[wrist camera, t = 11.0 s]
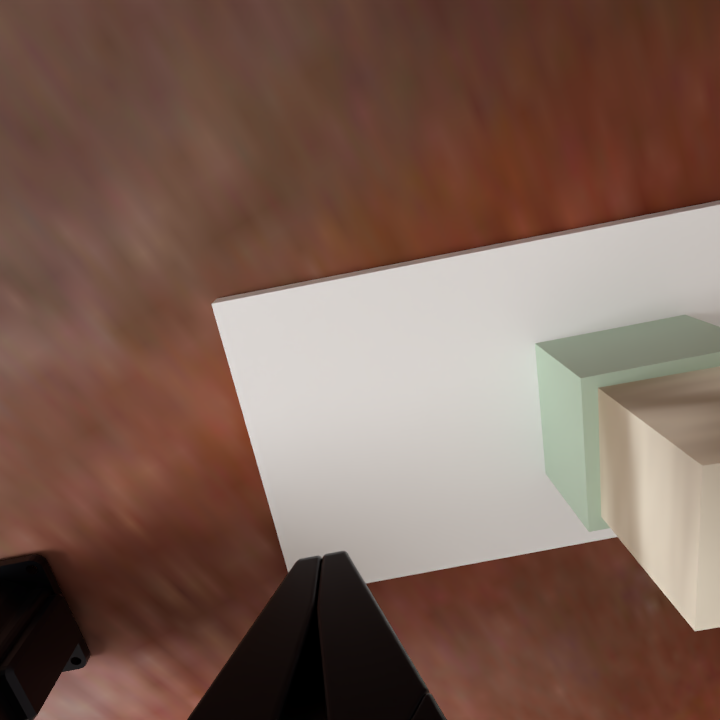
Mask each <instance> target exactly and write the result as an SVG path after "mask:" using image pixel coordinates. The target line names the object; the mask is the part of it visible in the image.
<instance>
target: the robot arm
mask: <svg viewBox="0 0 720 720" xmlns="http://www.w3.org/2000/svg"><path fill="white" fill-rule="evenodd" d="M32 565H33V566H36V567H37V568H35V567H33V566H32ZM89 658H90V652H89V649H88V647H87V645H86V643H85V641H84V639H83V637H82V634H81V632H80V630H79V628H78V626H77V624H76V622H75V619H74V617H73V615H72V613H71V611H70V609H69V607H68V604H67V602H66V600H65V598H64V596H63V594H62V592H61V589H60V587H59V585H58V583H57V581H56V579H55V577H54V574H53V572H52V570H51V568H50V566H49V564H48V562H47V560H46V559H45V558H44V557H42V556H40V555H29V556H24V557H18V558H13V559H8V560H3V561H0V720H34V718H35V717H36V716H37V714H38V713H39V711H40V709H41V707H42V706H43V704H44V702H45V700H46V699H47V697H48V695H49V694H50V692H51V690H52V688H53V687H54V685H55V683H56V681H57V680H58V678H59V676H60V674H61V673H62V672H65V671H70V670H75V669H80V668H83V667H84V666H85V665H86V664H87V662H88V660H89ZM187 720H447V719H446V718H445V716H444V714H443V713H442V711H441V709H440V708H439V706H438V704H437V703H436V701H435V699H434V698H433V696H432V694H430V693H429V690H428V688H427V686H426V685H425V683H424V681H423V680H422V678H421V676H420V675H419V673H418V671H417V669H416V668H415V666H414V664H413V663H412V661H411V659H410V658H409V656H408V654H407V653H406V651H405V649H404V647H403V646H402V644H401V642H400V641H399V639H398V637H397V636H396V634H395V632H394V631H393V629H392V627H391V625H390V624H389V622H388V620H387V619H386V617H385V615H384V614H383V612H382V610H381V609H380V607H379V605H378V604H377V602H376V600H375V598H374V597H373V595H372V593H371V592H370V590H369V588H368V587H367V585H366V583H365V582H364V580H363V578H362V576H361V575H360V573H359V571H358V570H357V568H356V566H355V565H354V563H353V561H352V560H351V558H350V556H349V554H348V553H347V552H346V551H338V552H333V553H327V554H325V555H324V556H323V557H321V556H319V555H317V556H311V557H306V558H301V559H299V560H297V561H296V562H295V564H294V565H293V567H292V568H291V570H290V571H289V573H288V574H287V575H286V577H285V578H284V580H283V581H282V583H281V584H280V586H279V587H278V589H277V590H276V591H275V593H274V594H273V596H272V597H271V599H270V600H269V602H268V603H267V605H266V606H265V607H264V609H263V610H262V612H261V613H260V615H259V616H258V618H257V619H256V620H255V622H254V623H253V625H252V626H251V628H250V629H249V631H248V632H247V634H246V635H245V636H244V638H243V639H242V641H241V642H240V644H239V645H238V647H237V648H236V650H235V651H234V652H233V654H232V655H231V657H230V658H229V660H228V661H227V663H226V664H225V665H224V667H223V668H222V670H221V671H220V673H219V674H218V676H217V677H216V679H215V680H214V681H213V683H212V684H211V686H210V687H209V689H208V690H207V692H206V693H205V695H204V696H203V697H202V699H201V700H200V702H199V703H198V705H197V706H196V708H195V709H194V710H193V712H192V713H191V715H190V716H189V718H188V719H187Z"/></svg>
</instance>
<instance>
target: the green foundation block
mask: <svg viewBox="0 0 720 720" xmlns="http://www.w3.org/2000/svg"><path fill="white" fill-rule="evenodd" d="M535 350H536V362H537V375H538V387H539V399H540V411H541V423H542V436H543V448H544V460H545V472H546V475H547V476H548V478H549V479H550V480H551V482H552V483H553V484H554V486H555V487H556V488H557V490H558V491H559V492H560V494H561V495H562V496H563V498H564V499H565V501H566V502H567V503H568V505H569V506H570V507H571V509H572V510H573V511H574V513H575V514H576V515H577V517H578V518H579V519H580V521H581V522H582V523H583V525H584V526H585V527H586V529H587V530H588V531H589V532H592V531H597V530H603V529H608V528H610V527H609V526H608V524H607V523H606V522H605V521H604V520H603V518H602V517H601V491H600V452H599V413H598V388H599V387H605V386H611V385H616V384H622V383H628V382H633V381H639V380H645V379H650V378H656V377H662V376H667V375H673V374H679V373H684V372H690V371H696V370H701V369H707V368H713V367H718V366H720V327H719V326H716V325H713V324H710V323H707V322H704V321H702V320H699V319H696V318H693V317H690V316H687V315H681V316H676V317H670V318H665V319H660V320H655V321H650V322H644V323H639V324H634V325H629V326H624V327H618V328H613V329H608V330H603V331H597V332H592V333H587V334H582V335H577V336H571V337H566V338H561V339H556V340H551V341H545V342H540V343H535Z"/></svg>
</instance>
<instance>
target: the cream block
mask: <svg viewBox="0 0 720 720" xmlns="http://www.w3.org/2000/svg"><path fill="white" fill-rule="evenodd" d="M598 413H599V452H600V491H601V517H602V518H603V520H604V521H605V522H606V523H607V524H608V526H609V527H610V528H611V529H612V531H613V532H614V533H615V534H616V535H617V537H618V538H619V539H620V540H621V542H622V543H623V544H624V545H625V546H626V548H627V549H628V550H629V551H630V553H631V554H632V555H633V556H634V557H635V559H636V560H637V561H638V562H639V564H640V565H641V566H642V567H643V568H644V570H645V571H646V572H647V573H648V575H649V576H650V577H651V578H652V579H653V581H654V582H655V583H656V584H657V586H658V587H659V588H660V589H661V590H662V592H663V593H664V594H665V595H666V597H667V598H668V599H669V600H670V602H671V603H672V604H673V605H674V606H675V608H676V609H677V610H678V611H679V613H680V614H681V615H682V616H683V617H684V619H685V620H686V621H687V622H688V624H689V625H690V626H691V627H692V628H693V630H694V631H700V630H705V629H711V628H717V627H720V366H718V367H713V368H707V369H701V370H696V371H690V372H684V373H679V374H673V375H667V376H662V377H656V378H650V379H645V380H639V381H633V382H628V383H622V384H616V385H611V386H605V387H599V388H598Z"/></svg>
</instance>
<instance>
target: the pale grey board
mask: <svg viewBox="0 0 720 720" xmlns="http://www.w3.org/2000/svg"><path fill="white" fill-rule="evenodd" d="M212 307H213V311H214V314H215V318H216V321H217V325H218V328H219V332H220V335H221V339H222V342H223V346H224V349H225V353H226V356H227V360H228V363H229V367H230V370H231V374H232V377H233V381H234V384H235V388H236V391H237V395H238V398H239V402H240V405H241V409H242V412H243V416H244V419H245V423H246V426H247V430H248V433H249V437H250V440H251V444H252V447H253V451H254V454H255V458H256V461H257V465H258V468H259V472H260V475H261V479H262V482H263V486H264V489H265V493H266V496H267V500H268V503H269V507H270V510H271V514H272V517H273V521H274V524H275V528H276V531H277V535H278V538H279V542H280V545H281V549H282V552H283V556H284V559H285V563H286V566H287V570H288V573H289V571H290V570H291V568H292V567H293V565H294V564H295V562H296V561H297V560H299V559H301V558H306V557H311V556H317V555H319V556H321V557H323V556H324V555H325V554H327V553H333V552H338V551H346V552H347V553H348V554H349V556H350V558H351V560H352V561H353V563H354V565H355V566H356V568H357V570H358V571H359V573H360V575H361V576H362V578H363V580H364V582H365V583H371V582H377V581H382V580H387V579H393V578H398V577H404V576H409V575H414V574H420V573H425V572H430V571H436V570H441V569H447V568H452V567H457V566H463V565H468V564H474V563H479V562H484V561H490V560H495V559H501V558H506V557H511V556H517V555H522V554H528V553H533V552H538V551H544V550H549V549H555V548H560V547H565V546H571V545H576V544H582V543H587V542H592V541H598V540H603V539H609V538H614V537H617V535H616V534H615V533H614V532H613V531H612V529H611V528H608V529H603V530H597V531H592V532H589V531H588V530H587V529H586V527H585V526H584V525H583V523H582V522H581V521H580V519H579V518H578V517H577V515H576V514H575V513H574V511H573V510H572V509H571V507H570V506H569V505H568V503H567V502H566V501H565V499H564V498H563V496H562V495H561V494H560V492H559V491H558V490H557V488H556V487H555V486H554V484H553V483H552V482H551V480H550V479H549V478H548V476H547V475H546V472H545V460H544V448H543V436H542V423H541V411H540V399H539V387H538V375H537V362H536V350H535V343H540V342H545V341H551V340H556V339H561V338H566V337H571V336H577V335H582V334H587V333H592V332H597V331H603V330H608V329H613V328H618V327H624V326H629V325H634V324H639V323H644V322H650V321H655V320H660V319H665V318H670V317H676V316H681V315H687V316H690V317H693V318H696V319H699V320H702V321H704V322H707V323H710V324H713V325H716V326H719V327H720V200H719V201H714V202H709V203H704V204H699V205H694V206H689V207H683V208H678V209H673V210H668V211H663V212H658V213H653V214H648V215H643V216H637V217H632V218H627V219H622V220H617V221H612V222H607V223H602V224H596V225H591V226H586V227H581V228H576V229H571V230H566V231H561V232H556V233H550V234H545V235H540V236H535V237H530V238H525V239H520V240H515V241H509V242H504V243H499V244H494V245H489V246H484V247H479V248H474V249H469V250H463V251H458V252H453V253H448V254H443V255H438V256H433V257H428V258H422V259H417V260H412V261H407V262H402V263H397V264H392V265H387V266H382V267H376V268H371V269H366V270H361V271H356V272H351V273H346V274H341V275H336V276H330V277H325V278H320V279H315V280H310V281H305V282H300V283H295V284H289V285H284V286H279V287H274V288H269V289H264V290H259V291H254V292H249V293H243V294H238V295H233V296H228V297H223V298H218V299H216V300H215V301H214V302H213V303H212Z"/></svg>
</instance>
